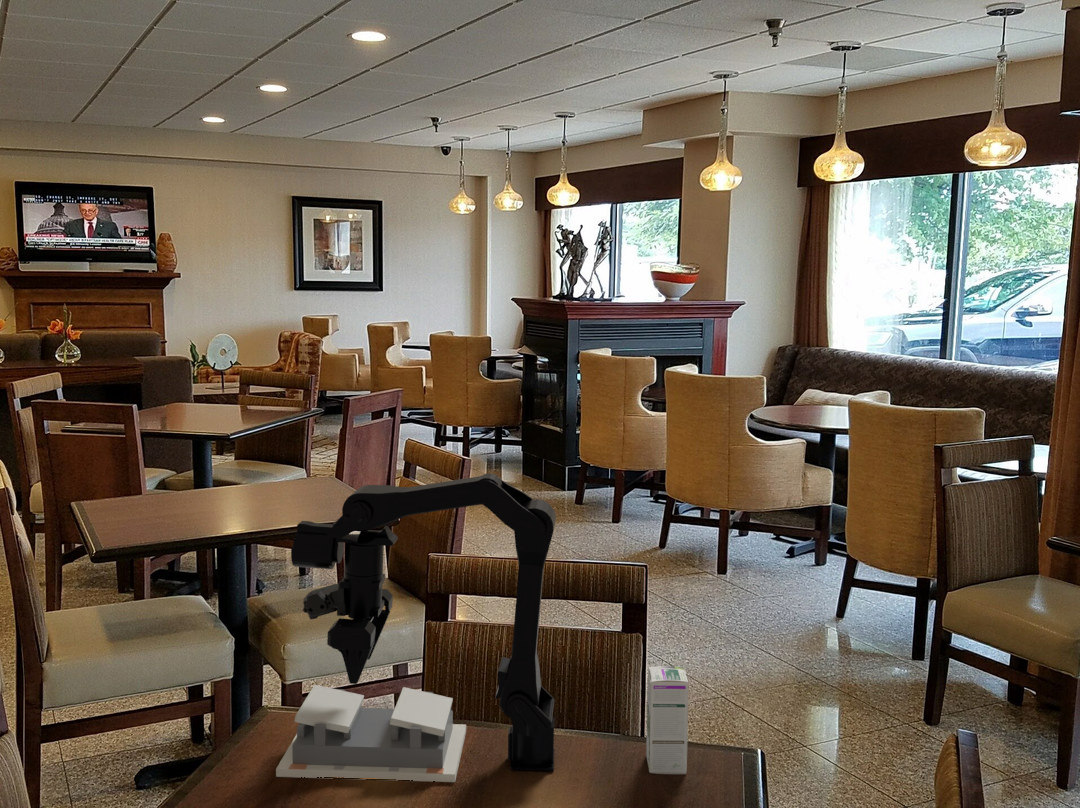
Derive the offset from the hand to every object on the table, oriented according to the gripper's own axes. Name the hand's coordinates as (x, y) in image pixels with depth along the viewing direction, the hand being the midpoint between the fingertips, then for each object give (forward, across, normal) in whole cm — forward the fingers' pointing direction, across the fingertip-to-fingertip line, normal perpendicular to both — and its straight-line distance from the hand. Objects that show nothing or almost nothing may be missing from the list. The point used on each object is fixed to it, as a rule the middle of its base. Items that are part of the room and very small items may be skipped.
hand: (360, 670), depth 149 cm
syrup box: (+12, +1, +47) cm, 48 cm away
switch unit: (+13, 0, +3) cm, 13 cm away
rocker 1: (+7, 0, -4) cm, 8 cm away
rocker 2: (+6, 0, +10) cm, 11 cm away
